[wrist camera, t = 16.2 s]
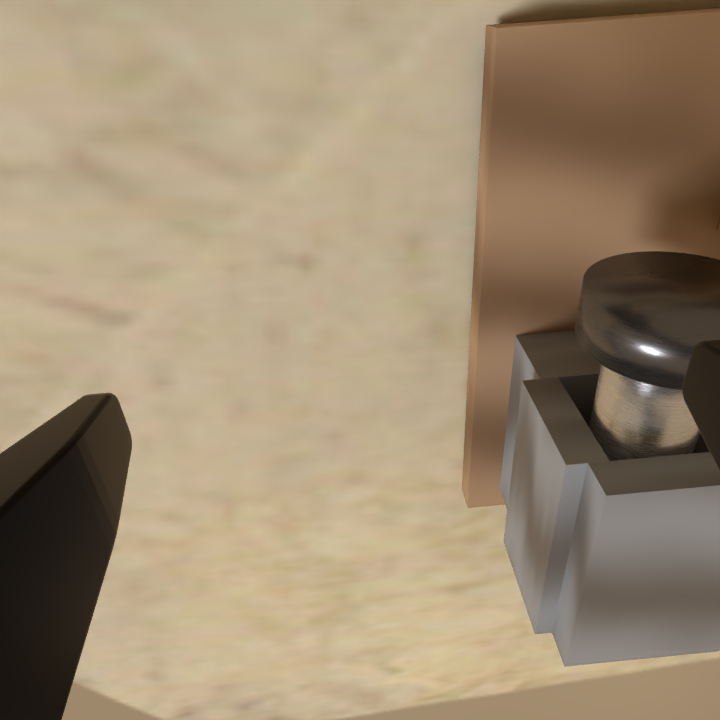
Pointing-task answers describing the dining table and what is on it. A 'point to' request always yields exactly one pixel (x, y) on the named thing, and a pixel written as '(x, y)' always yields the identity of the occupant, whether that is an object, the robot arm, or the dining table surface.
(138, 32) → the dining table surface
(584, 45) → the shaft stand
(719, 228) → the frame
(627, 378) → the shaft
